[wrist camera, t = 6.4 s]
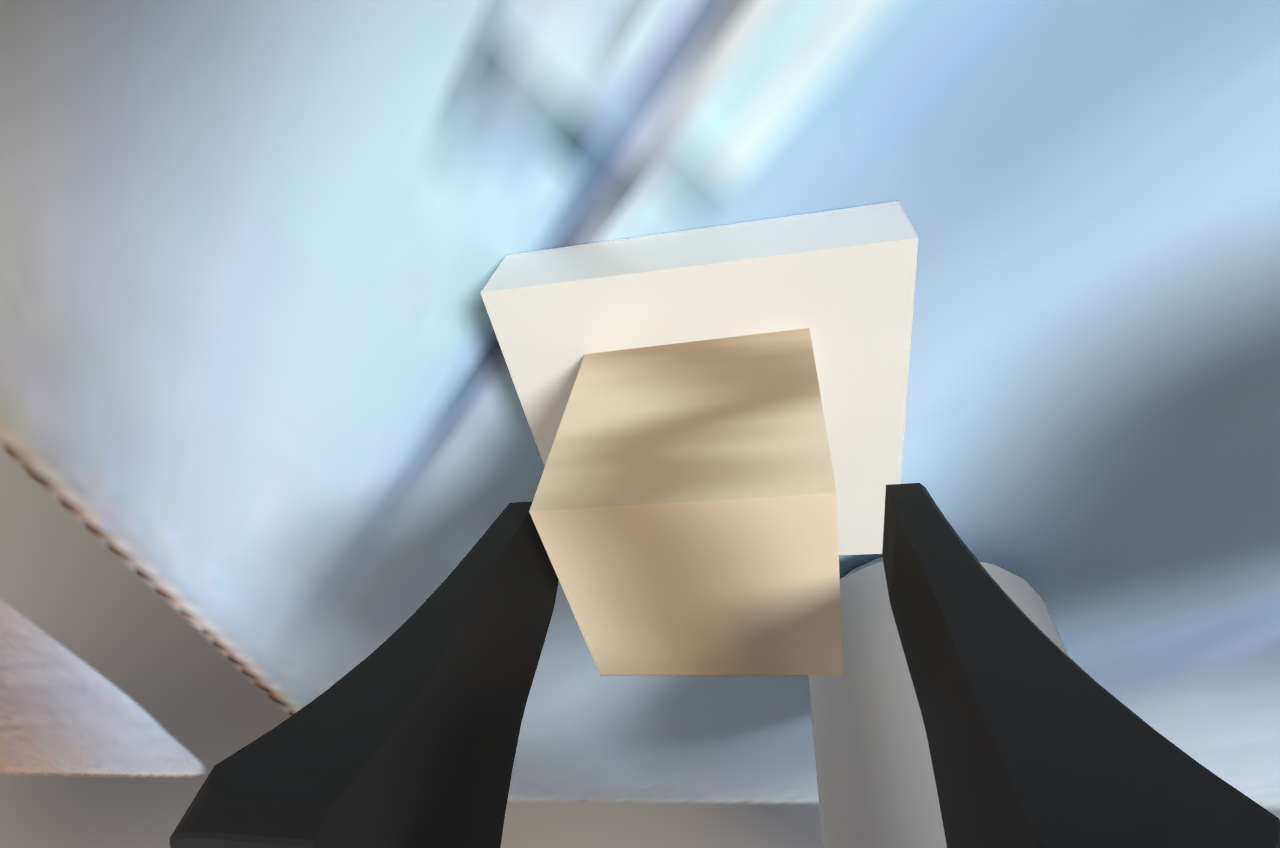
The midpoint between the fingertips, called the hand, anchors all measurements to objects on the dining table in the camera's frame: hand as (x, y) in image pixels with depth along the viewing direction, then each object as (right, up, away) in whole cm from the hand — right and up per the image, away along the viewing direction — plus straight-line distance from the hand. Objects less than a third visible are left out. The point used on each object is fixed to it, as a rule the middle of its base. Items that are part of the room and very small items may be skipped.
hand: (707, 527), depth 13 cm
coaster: (+1, +3, +4) cm, 5 cm away
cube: (0, +2, +2) cm, 3 cm away
